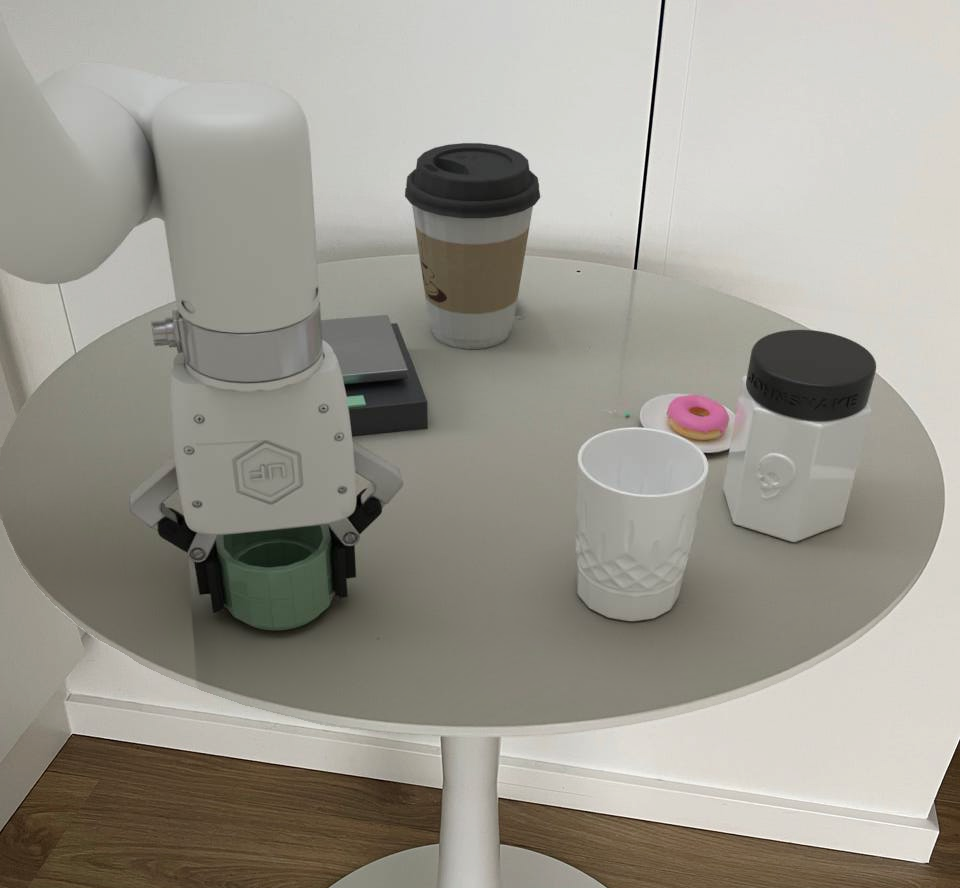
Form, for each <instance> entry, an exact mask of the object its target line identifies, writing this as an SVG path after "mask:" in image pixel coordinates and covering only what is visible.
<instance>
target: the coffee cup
mask: <svg viewBox="0 0 960 888" xmlns="http://www.w3.org/2000/svg"><path fill="white" fill-rule="evenodd" d="M405 184H406V185H405V189H404V197H405V199H406V200H407V201H408V202H409V203H410V204H411V209H412V215H413V219H414V220H413V222H414V228H415V234H416V241H417V248H418V255H419V262H420V268H421V275H422V282H423V283H422V284H423V289H424V296H425V302H426V310H427V317H428V324H429V326H430V327H431V331H432V335H433V336H434V338H435V339H436V340H437V341H438V342H440V343H442V345H446V346H449V347H452V348H456V349H462V348H463V350H480V349H488V348H492V347H495V346H498V345H500V344H502V343H503V342H505V341H506V340H507V339H508V338H509V336H510V334H511V329H512V327H513V326H514V323H515V317H516V309H517V304H518V299H519V292H520V286H521V280H522V274H523V270H524V269H523V268H524V263H525V256H526V251H527V246H528V245H527V244H528V237H529V232H530V227H531V220H532V214H533V208H534V206H535V205H536V204H537V203H538V201H539V200H540V199H541V192H540V184H539V177H538V176H537V175H536V174H534V172H532V171H531V170H530V164H529V159H528V158H527V157H526V156H524V154H522V152H519V151H517V150H514V149H513V148H510V147H507V146H506V147H505V146H502V145H498V144H491V143H483V142H462V143H451V144H450V143H449V144H444V145H440V146H436V147H433V148H431V149H428V150H427V151H424V152H423V153H422V154H421V155H420V156H419V157H418V158H417V159H416V166H415V169H413V170H412V171H411V172H410V173H409V174H408V175H407V177H406V183H405Z"/></svg>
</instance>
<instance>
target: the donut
mask: <svg viewBox="0 0 960 888" xmlns="http://www.w3.org/2000/svg"><path fill="white" fill-rule="evenodd" d="M604 413H605V414H606V413H607V409H605V411H604ZM608 414H611V415H613V414H614V415H615V416H616V415H617V410H614V411H613V410H611V411H610V410H609V411H608ZM620 415H621V410H619V411H618V416H620ZM624 415H625V417H626V418H627V417H629V416H630V413H629V412H625V413H624ZM735 416H736V413H735V412H733V411H732V410H731V409H729V408H728V407H726V406H725V405H723V404H722V403H720V402H718V401H716V400H714V399H712V398H709V397H706V396H704V395H700V394H687V393H670V394H669V393H668V394H662V395H658V396H655V397H653V398H650V399H649V400H647V401H646V402H645V403H644V404H643V405H642V406H641V409H640V410H639V420H640V423H641V425H642V428H651V429H657V430H662V431H666V432H670V433H673V434H676V435H678V436H681V437H683V438H685V439H687V440H688V441H690V442H692V443H693V444H695V445H696V446H697V447H698V448H699V449H700V450H701V451H702V452H703V453H704V454H711V453H720V452H724V451H727V450H730V445H731V439H732V433H733V428H734V422H735Z"/></svg>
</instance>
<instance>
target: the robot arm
mask: <svg viewBox="0 0 960 888" xmlns="http://www.w3.org/2000/svg"><path fill="white" fill-rule="evenodd" d="M307 120H308V119H307V117H306V114H305V112H304V110H303V108H302V106H301V104H299V102H298V101H297V99H296V98H294V97H293V96H292V95H291V94H289V93H288V92H287V91H285V90H283V89H281V88H278V87H275V86H272V85H269V84H265V83H260V82H255V81H247V80H214V81H213V80H212V81H208V82H207V81H206V82H199V83H197V82H192V81H191V82H190V81H186V80H181V79H177V78H173V77H169V76H164V75H159V74H156V73H152V72H148V71H145V70H140V69H137V68H133V67H129V66H125V65H121V64H116V63H110V62H101V61H86V62H78V63H73V64H70V65H67V66H65V67H62V68H60V69H58V70H57V71H55V72H53V73H51V74H50V75H49V76H48V77H46V78H45V79H43V80H42V81H41V82H39V83H38V84H37V82H36V80H35V79H34V77H33V75H32V74H31V72H30V70H29V69H28V66H27V65H26V62H25V61H24V60H23V58H22V56H21V54H20V52H19V50H18V48H17V47H16V44H15V43H14V40H13V39H12V37H11V34H10V33H9V31H8V28H7V26H6V24H5V21H4V19H3V17H2V15H1V14H0V269H1V270H2V271H4V272H5V273H7V274H9V275H12V276H14V277H16V278H18V279H21V280H23V281H27V282H30V283H36V284H40V285H41V284H42V285H62V284H66V283H70V282H73V281H77V280H80V279H81V278H84V277H86V276H88V275H90V274H92V273H93V272H94V271H96V270H98V269H99V267H101V266H102V265H103V264H104V263H105V262H106V261H107V260H108V259H109V258H110V257H111V256H112V255H113V254H114V253H115V252H116V251H117V249H118V248H119V247H120V246H121V245H122V244H123V242H124V241H125V240H126V239H127V237H128V236H129V235H130V233H131V232H132V231H133V230H134V229H135V228H136V227H138V226H141V225H143V224H145V223H147V222H149V221H151V220H152V219H160V220H161V221H163V223H164V230H165V236H166V237H165V238H166V241H167V242H166V243H167V250H168V256H169V257H168V258H169V264H170V270H171V271H170V272H171V277H172V284H173V290H174V298H175V304H176V308H177V309H175V310H171V311H172V312H171V313H172V314H171V315H172V316H165V318H164V319H154V320H151V322H150V324H151V325H150V326H151V333H152V339H153V344H154V345H153V346H154V347H162V346H168V347H169V348H176V351H177V353H176V354H175V357H174V359H173V364H172V369H171V378H170V420H171V421H170V424H171V435H172V444H173V446H172V447H173V453H174V455H173V456H171V457H170V458H169V459H168V460H167V461H166V462H165V463H164V464H162V465H161V466H160V467H159V468H157V469H156V470H155V471H154V472H153V473H152V474H151V475H149V476H148V478H146V479H145V480H144V481H143V482H141V484H139V485H138V486H136V487H135V489H134V490H133V491H131V492H130V494H129V497H128V499H129V500H128V506H129V507H128V510H129V512H130V513H131V514H132V515H133V516H135V517H136V518H137V519H138V520H139V521H141V522H143V523H144V524H145V525H147V526H148V527H149V528H151V529H152V528H153V529H154V531H157V534H158V536H159V537H160V538H161V539H163V540H165V541H167V542H169V543H170V544H172V545H173V546H175V547H176V548H178V549H180V550H181V551H183V552H185V553H186V554H187V558H188V559H189V560H190V561H191V562H193V563H194V569H195V570H194V571H195V576H196V582H197V588H198V594H199V596H201V595H210V599H211V606H212V607H211V608H212V613H213V614H215V613H222V610H226V609H225V608H226V607H225V605H224V599H223V592H222V585H221V578H220V572H219V565H218V558H217V551H216V539H217V537H218V535H226V534H238V533H248V532H259V531H269V530H278V529H288V528H297V527H306V526H315V525H323V524H328V526H329V529H330V534H331V539H332V557H333V573H334V588H335V594H334V595H335V597H338V598H339V599H346V598H348V582H347V579H355V578H357V567H356V565H357V564H356V548H355V547H356V545H357V544H358V543H359V542H360V539H361V534H362V533H363V532H364V531H365V530H367V528H368V527H369V526H370V525H372V524H373V523H374V521H376V520H377V519H378V518H379V517H380V516H381V514H382V512H383V508H384V507H385V506H386V505H388V504H389V503H390V502H391V500H392V499H393V498H394V497H395V496H396V495H397V494H398V493H399V491H400V490H401V489H402V488H403V486H404V479H403V477H402V473H401V471H400V469H399V468H398V467H397V466H396V465H394V464H392V463H391V462H389V461H388V460H386V459H384V458H382V457H381V456H379V455H377V454H376V453H375V452H373V451H371V450H369V449H368V448H366V447H364V446H363V445H361V444H359V443H358V442H356V441H355V440H353V436H352V432H351V424H350V416H349V409H348V403H347V396H346V391H345V386H344V382H343V377H342V373H341V370H340V366H339V363H338V360H337V357H336V355H335V354H334V352H333V349H332V347H331V346H330V345H329V344H328V343H327V342H325V341H324V340H322V326H321V320H322V312H321V311H322V310H321V299H320V283H319V267H318V266H319V265H318V264H319V263H318V251H317V249H318V247H317V235H316V233H317V232H316V231H317V230H316V219H315V218H316V217H315V203H314V202H315V201H314V199H315V198H314V186H313V170H312V168H313V167H312V155H311V154H312V153H311V152H312V151H311V139H310V131H309V130H310V129H309V123H308V121H307ZM357 475H358V476H360V477H362V478H363V479H365V480H367V481H369V482H370V483H369V484H368V487H366V488H364V489H362V490H361V491H360V492H359V493H357ZM177 491H178V493H179V494H178V495H179V499H180V501H179V502H180V505H181V510H182V513H181V512H179V511H178V510H176V509H174V508H172V507H168V506H166V504H165V503H164V502H165V501H167V500H168V499H169V498H170V497H171V496H172V495H174V493H176V492H177Z"/></svg>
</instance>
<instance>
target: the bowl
mask: <svg viewBox="0 0 960 888" xmlns="http://www.w3.org/2000/svg"><path fill="white" fill-rule="evenodd" d="M216 551H217V558H218V565H219V572H220V578H221V585H222V592H223V599H224V608H226V609H227V610H228V612H229V613H230V614H231V615H232V617H234V619H236V620H239V621H241V622H242V623H244V624H246V625H248V626H250V627H252V628H256V629H259V630H265V631H288V630H293V629H297V628H300V627H302V626H305V625H307V624H309V623H311V622H313V621H314V620H315V619H317V618H318V617H319V616H320V615H321V614H322V613H324V611H326V610H327V609H329V607H330V606H331V603H332V601H333V598H334V596H335V595H336V594H335V588H334V573H333V557H332V539H331V534H330V529H329V526H328V524H323V525H315V526H306V527H297V528H288V529H278V530H269V531H259V532H248V533H238V534H226V535H218V537H217V539H216Z"/></svg>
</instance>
